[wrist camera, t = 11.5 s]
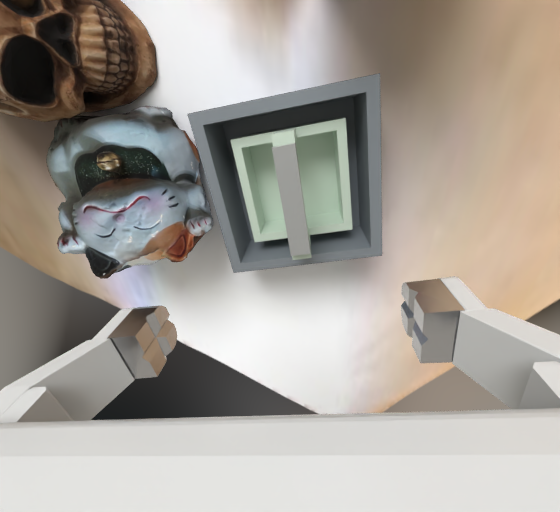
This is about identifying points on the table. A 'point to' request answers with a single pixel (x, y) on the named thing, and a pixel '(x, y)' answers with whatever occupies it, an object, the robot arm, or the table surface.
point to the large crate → (287, 113)
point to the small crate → (296, 182)
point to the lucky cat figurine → (127, 189)
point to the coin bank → (71, 57)
